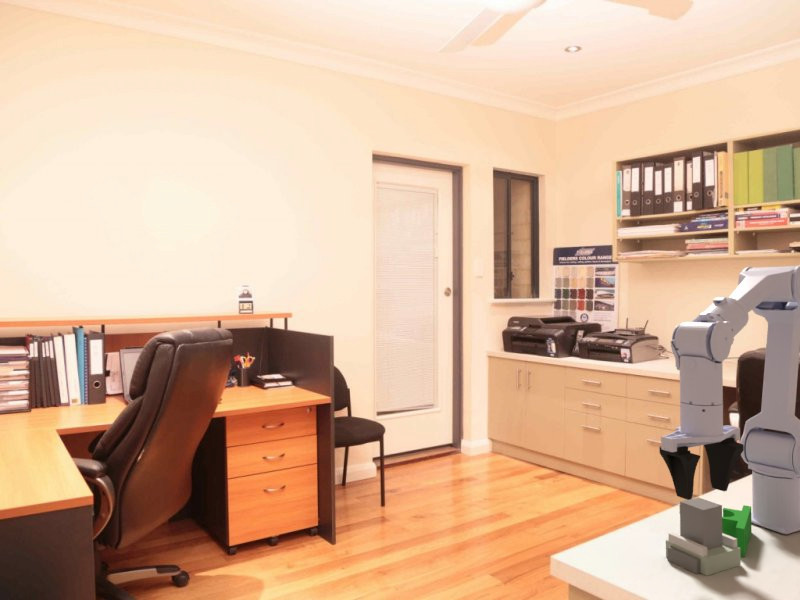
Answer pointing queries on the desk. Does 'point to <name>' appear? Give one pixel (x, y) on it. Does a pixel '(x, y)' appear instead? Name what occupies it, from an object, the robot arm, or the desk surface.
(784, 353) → the robot arm
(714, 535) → the dark grey block
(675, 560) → the pale grey-green blocky piece
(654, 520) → the desk surface
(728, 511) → the pipe clamp
